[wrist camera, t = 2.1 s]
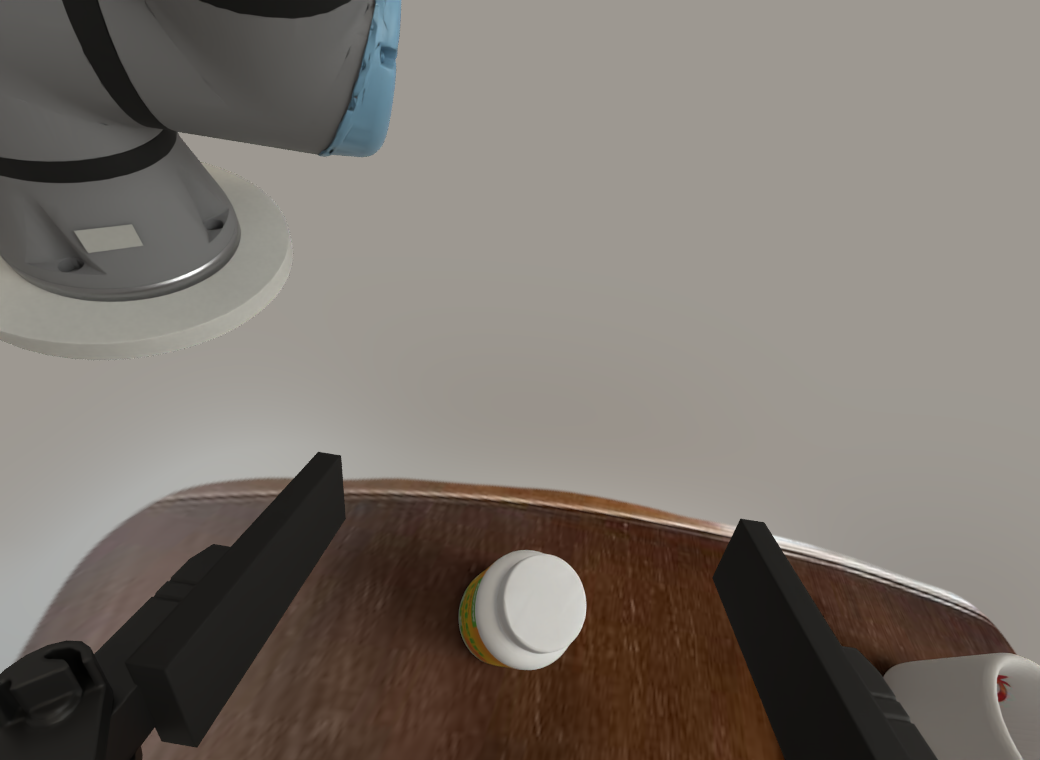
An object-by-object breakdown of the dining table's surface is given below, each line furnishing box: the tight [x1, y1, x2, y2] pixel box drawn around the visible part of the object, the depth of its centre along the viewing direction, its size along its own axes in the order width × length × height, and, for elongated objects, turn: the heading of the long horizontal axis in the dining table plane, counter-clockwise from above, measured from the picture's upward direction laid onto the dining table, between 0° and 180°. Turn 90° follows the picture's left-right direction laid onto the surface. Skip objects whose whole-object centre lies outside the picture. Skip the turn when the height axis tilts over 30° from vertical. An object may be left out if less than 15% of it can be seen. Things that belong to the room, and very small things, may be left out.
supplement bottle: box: [459, 550, 586, 670], centre depth 22 cm, size 5×5×10 cm
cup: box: [883, 653, 1040, 760], centre depth 26 cm, size 11×8×8 cm
